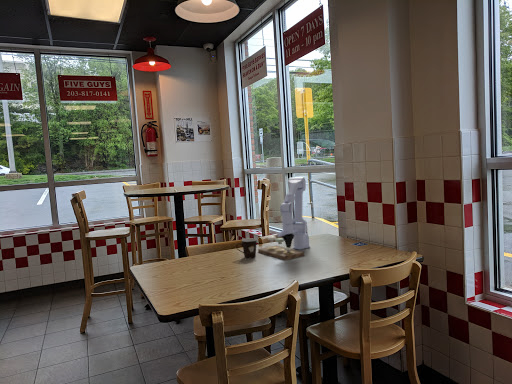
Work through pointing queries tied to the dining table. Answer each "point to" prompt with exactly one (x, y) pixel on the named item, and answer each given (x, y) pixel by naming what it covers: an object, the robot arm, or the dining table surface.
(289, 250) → the ivory knob
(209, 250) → the dining table surface
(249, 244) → the coffee mug
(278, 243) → the middle sage knob
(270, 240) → the ivory knob
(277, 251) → the knob board
